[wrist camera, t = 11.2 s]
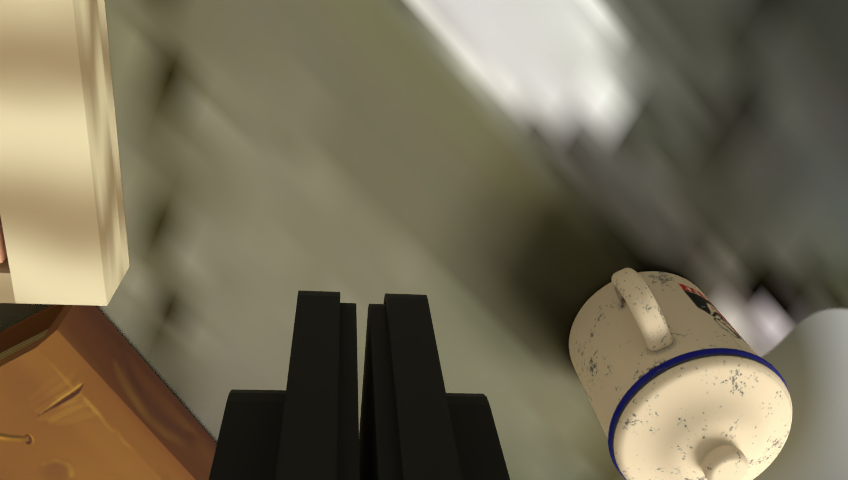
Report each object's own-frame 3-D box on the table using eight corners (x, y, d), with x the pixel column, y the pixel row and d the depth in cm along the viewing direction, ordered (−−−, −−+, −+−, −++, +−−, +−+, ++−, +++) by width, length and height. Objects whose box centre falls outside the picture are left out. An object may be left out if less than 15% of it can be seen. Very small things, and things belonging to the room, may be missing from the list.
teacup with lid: (729, 355, 45) (846, 498, 34) (593, 415, 46) (665, 571, 35) (672, 196, 39) (789, 307, 29) (520, 268, 41) (580, 400, 30)
